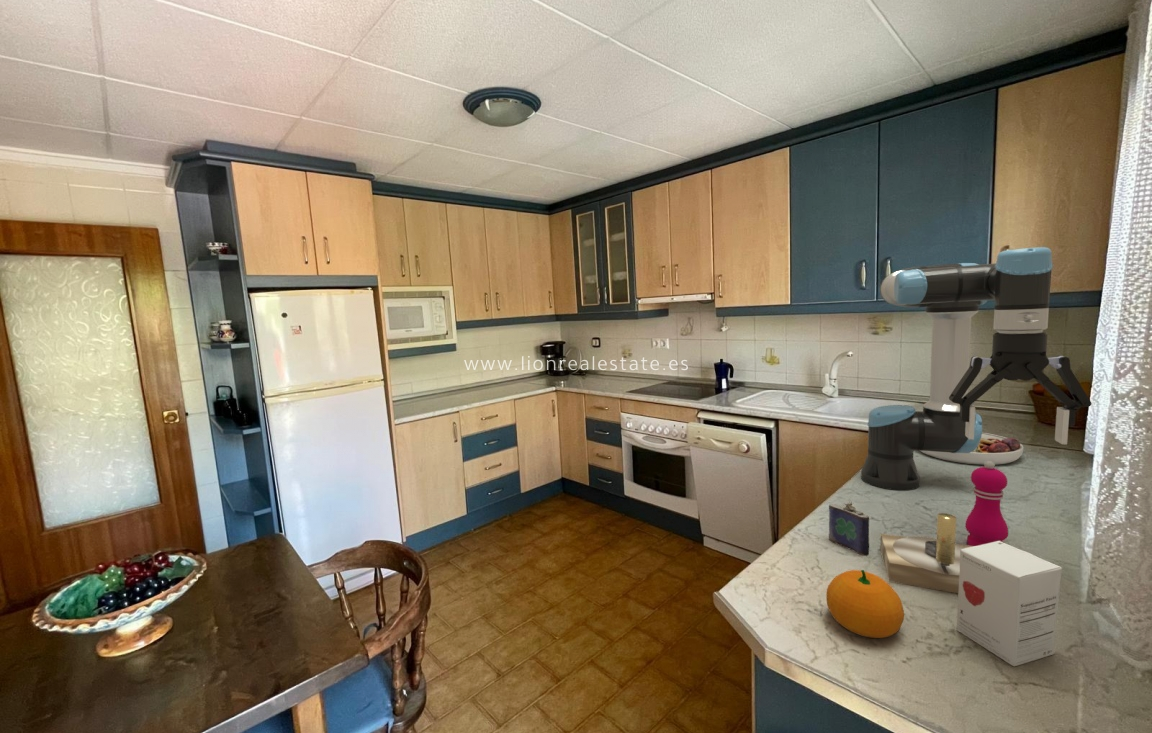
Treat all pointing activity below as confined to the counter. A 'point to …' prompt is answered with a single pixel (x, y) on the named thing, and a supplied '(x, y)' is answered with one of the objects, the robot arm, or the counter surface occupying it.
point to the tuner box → (918, 563)
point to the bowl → (985, 451)
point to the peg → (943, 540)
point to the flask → (849, 528)
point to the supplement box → (1008, 601)
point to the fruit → (865, 604)
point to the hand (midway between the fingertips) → (1013, 440)
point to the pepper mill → (987, 506)
